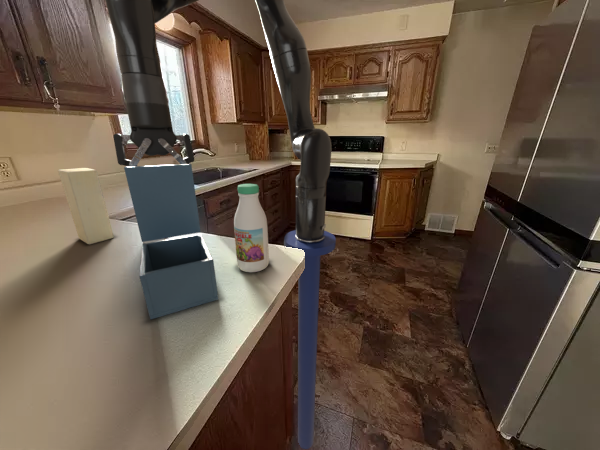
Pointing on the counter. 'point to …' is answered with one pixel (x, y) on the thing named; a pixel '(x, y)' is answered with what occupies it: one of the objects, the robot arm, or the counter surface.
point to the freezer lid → (163, 200)
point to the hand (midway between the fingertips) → (162, 183)
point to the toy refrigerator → (86, 204)
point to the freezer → (177, 275)
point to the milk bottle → (250, 230)
